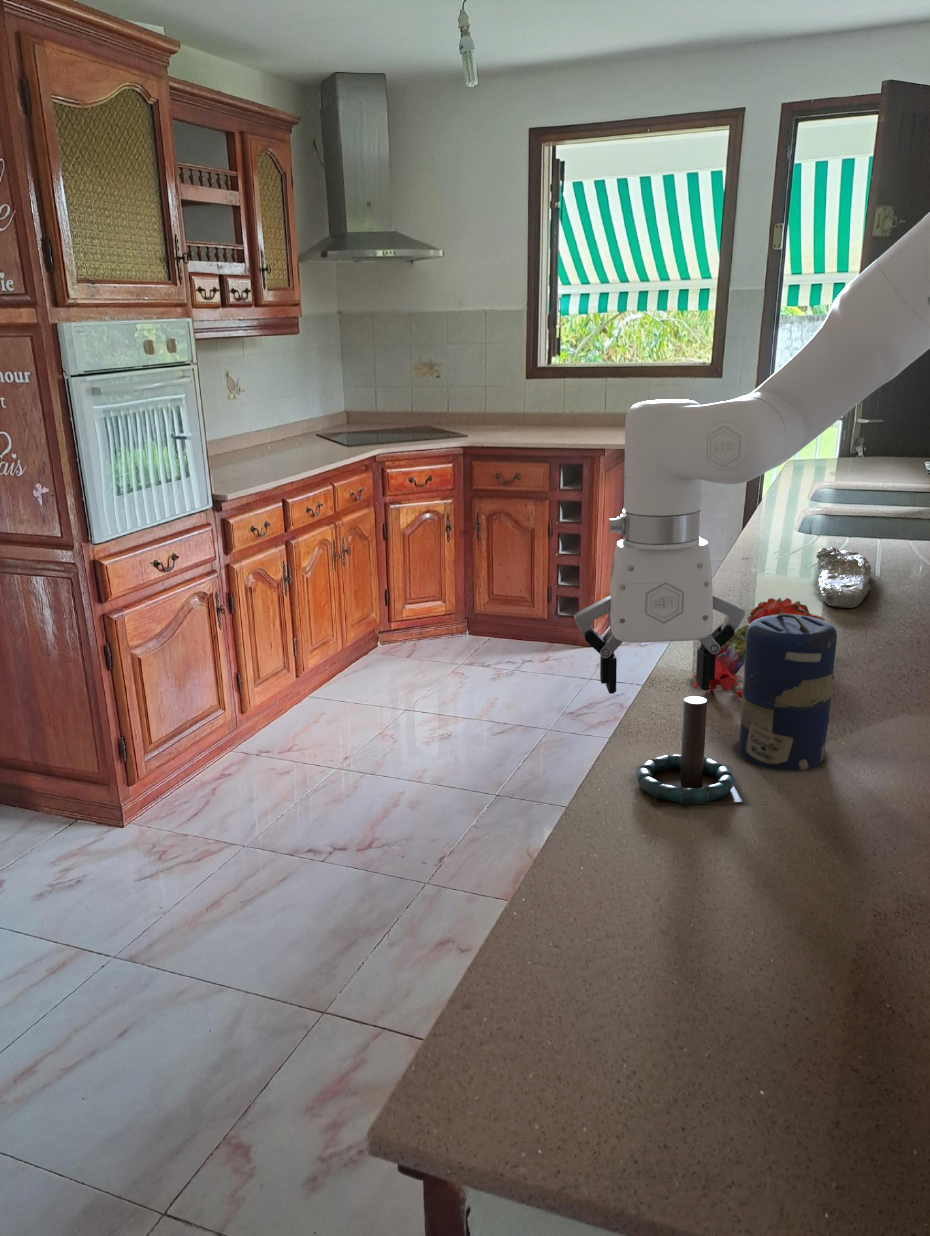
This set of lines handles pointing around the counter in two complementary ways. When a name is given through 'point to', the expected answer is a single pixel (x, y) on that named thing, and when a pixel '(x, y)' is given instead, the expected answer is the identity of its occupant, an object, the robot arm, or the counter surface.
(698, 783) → the post stand
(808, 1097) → the counter surface
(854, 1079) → the counter surface
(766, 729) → the canister
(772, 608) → the dragon fruit
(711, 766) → the ring
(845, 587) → the foil wrapped parcel
